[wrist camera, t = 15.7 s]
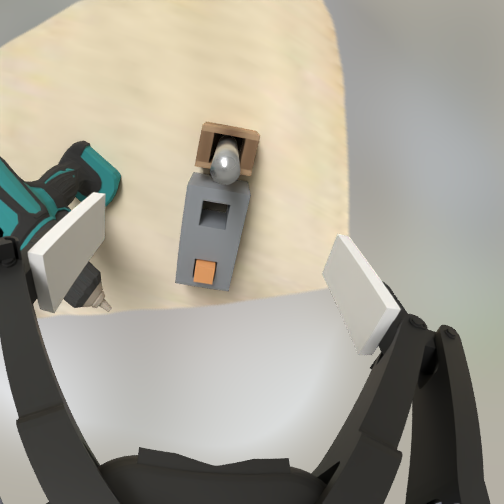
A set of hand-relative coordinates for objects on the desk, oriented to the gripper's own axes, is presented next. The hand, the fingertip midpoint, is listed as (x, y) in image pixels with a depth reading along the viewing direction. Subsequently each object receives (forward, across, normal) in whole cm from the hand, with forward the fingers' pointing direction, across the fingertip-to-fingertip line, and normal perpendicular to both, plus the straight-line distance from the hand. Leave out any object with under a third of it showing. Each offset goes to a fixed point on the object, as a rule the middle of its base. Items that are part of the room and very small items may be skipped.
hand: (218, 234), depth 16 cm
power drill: (+33, -21, -10) cm, 40 cm away
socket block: (+32, 0, -14) cm, 35 cm away
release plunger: (+32, 0, -19) cm, 37 cm away
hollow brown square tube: (+32, 0, 0) cm, 33 cm away
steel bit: (+33, 0, 0) cm, 33 cm away
